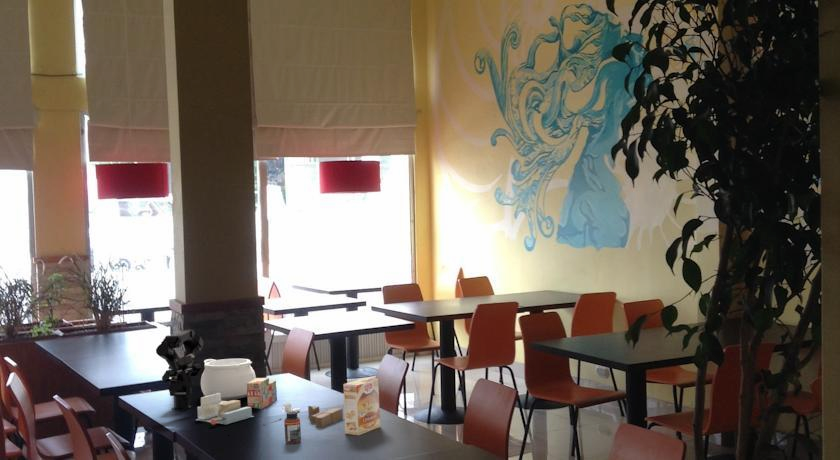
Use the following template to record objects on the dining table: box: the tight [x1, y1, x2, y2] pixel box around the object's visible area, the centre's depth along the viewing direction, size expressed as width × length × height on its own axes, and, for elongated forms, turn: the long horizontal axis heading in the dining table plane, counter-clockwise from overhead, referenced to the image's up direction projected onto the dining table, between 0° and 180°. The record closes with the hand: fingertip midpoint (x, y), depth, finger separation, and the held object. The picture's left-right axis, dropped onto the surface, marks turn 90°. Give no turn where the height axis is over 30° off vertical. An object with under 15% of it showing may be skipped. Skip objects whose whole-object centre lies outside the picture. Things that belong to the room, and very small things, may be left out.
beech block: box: [218, 399, 241, 419], centre depth 365 cm, size 4×9×7 cm, turn 145°
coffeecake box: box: [342, 377, 381, 436], centre depth 339 cm, size 15×7×20 cm, turn 148°
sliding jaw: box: [196, 393, 228, 420], centre depth 371 cm, size 4×14×9 cm, turn 145°
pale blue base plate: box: [196, 406, 255, 426], centre depth 364 cm, size 19×22×5 cm
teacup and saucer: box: [281, 402, 301, 413], centre depth 377 cm, size 9×8×4 cm
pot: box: [200, 358, 257, 401], centre depth 420 cm, size 29×26×17 cm
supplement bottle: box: [283, 411, 302, 445], centre depth 325 cm, size 6×6×11 cm
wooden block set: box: [307, 405, 344, 429], centre depth 358 cm, size 17×6×18 cm
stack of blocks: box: [246, 377, 278, 410], centre depth 396 cm, size 21×6×12 cm, turn 170°
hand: (191, 387), depth 378 cm, fingers closed
